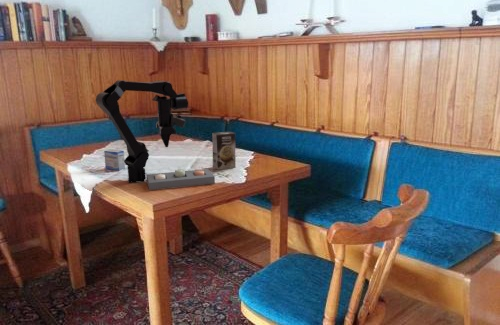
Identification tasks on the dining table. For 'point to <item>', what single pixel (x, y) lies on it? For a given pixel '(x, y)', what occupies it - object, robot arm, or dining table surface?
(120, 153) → the medicine box
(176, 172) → the sage button
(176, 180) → the button panel
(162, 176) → the cream button
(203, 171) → the orange rounded piece
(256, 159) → the dining table surface
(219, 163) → the coffee box
